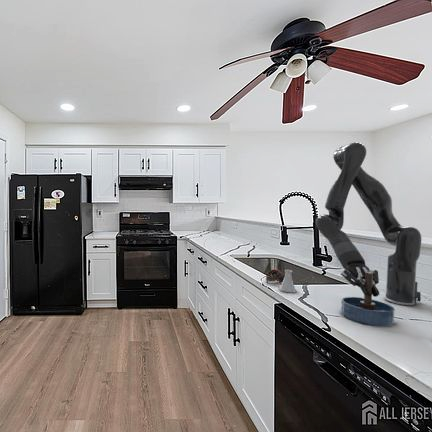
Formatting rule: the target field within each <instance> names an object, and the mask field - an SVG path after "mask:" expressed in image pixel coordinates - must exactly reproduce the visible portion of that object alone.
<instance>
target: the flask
mask: <svg viewBox="0 0 432 432" xmlns="http://www.w3.org/2000/svg"><path fill="white" fill-rule="evenodd" d="M292 273H293V270H292V269H284V276H285V277H284V280H283V282H281V285H280V287H279V291H282V292H286V293H296V292H297V291H296V286H295V284H294V281H293V276H292Z"/></svg>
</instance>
